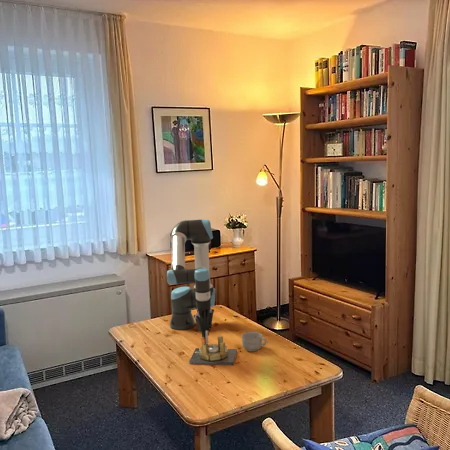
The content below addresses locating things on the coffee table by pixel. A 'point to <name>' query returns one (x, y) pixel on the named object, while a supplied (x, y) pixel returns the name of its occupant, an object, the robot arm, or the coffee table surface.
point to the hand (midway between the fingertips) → (205, 342)
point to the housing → (212, 350)
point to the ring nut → (217, 356)
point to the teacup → (252, 341)
